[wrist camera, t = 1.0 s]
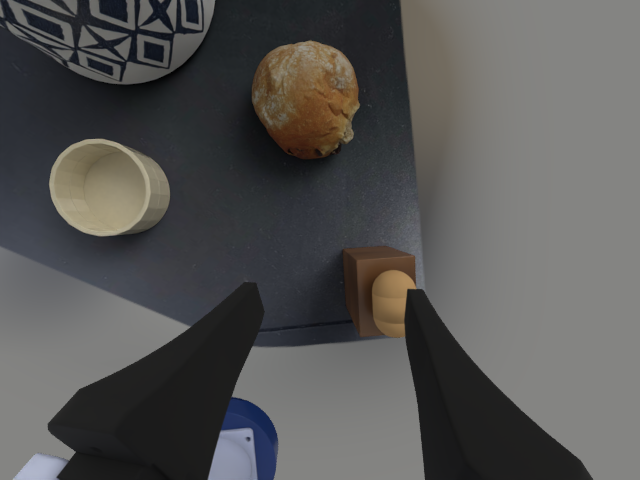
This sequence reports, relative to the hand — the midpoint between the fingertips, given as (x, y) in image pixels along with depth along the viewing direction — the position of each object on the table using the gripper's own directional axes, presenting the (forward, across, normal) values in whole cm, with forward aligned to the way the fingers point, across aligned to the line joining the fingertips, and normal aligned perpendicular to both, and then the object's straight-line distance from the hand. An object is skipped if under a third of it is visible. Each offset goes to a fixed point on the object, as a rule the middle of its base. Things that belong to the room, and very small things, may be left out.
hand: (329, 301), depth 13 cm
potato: (+7, -3, +6) cm, 10 cm away
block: (+14, -1, +10) cm, 17 cm away
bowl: (+12, +22, -1) cm, 25 cm away
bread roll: (+20, +4, -6) cm, 22 cm away
